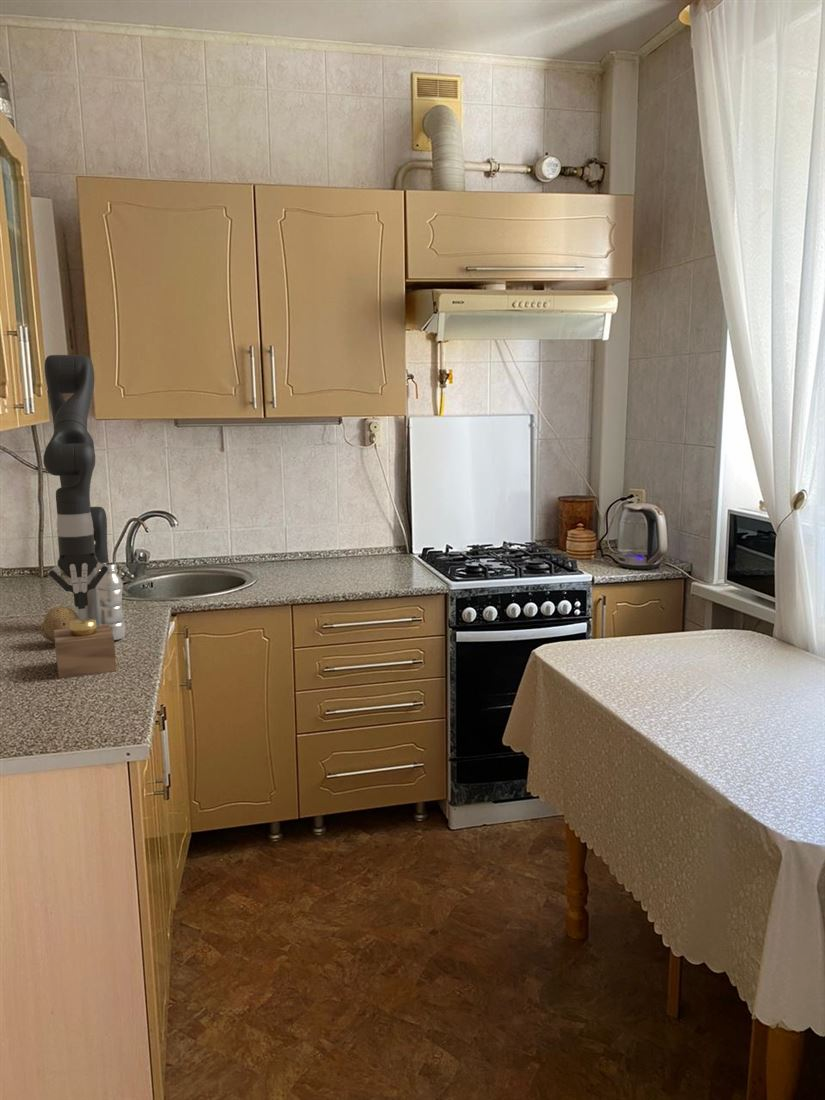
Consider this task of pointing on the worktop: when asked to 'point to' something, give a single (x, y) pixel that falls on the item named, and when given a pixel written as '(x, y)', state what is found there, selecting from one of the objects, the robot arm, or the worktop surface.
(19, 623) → the worktop surface
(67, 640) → the block
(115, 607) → the plastic bottle
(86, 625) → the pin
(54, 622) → the natural sponge
